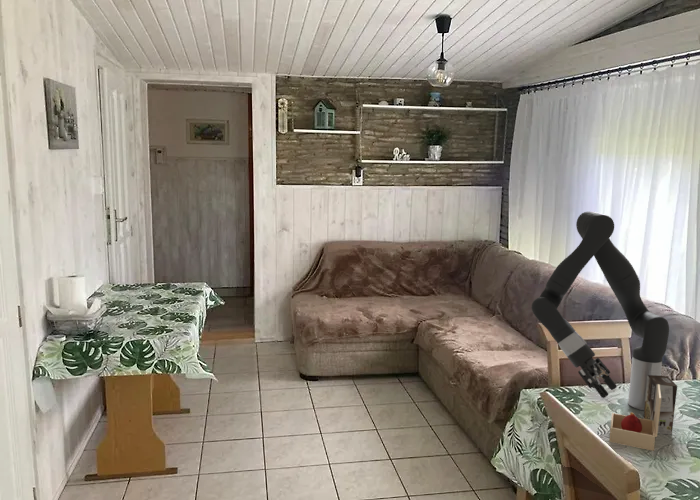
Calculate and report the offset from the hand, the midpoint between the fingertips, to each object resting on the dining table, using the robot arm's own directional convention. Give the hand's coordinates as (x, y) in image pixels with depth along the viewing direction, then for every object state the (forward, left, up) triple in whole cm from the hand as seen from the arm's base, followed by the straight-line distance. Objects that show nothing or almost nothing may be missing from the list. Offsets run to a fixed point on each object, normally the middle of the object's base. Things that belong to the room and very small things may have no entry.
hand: (610, 392), depth 181 cm
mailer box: (+2, +7, -13) cm, 15 cm away
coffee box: (-10, +14, -13) cm, 22 cm away
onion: (+2, +7, -13) cm, 14 cm away
